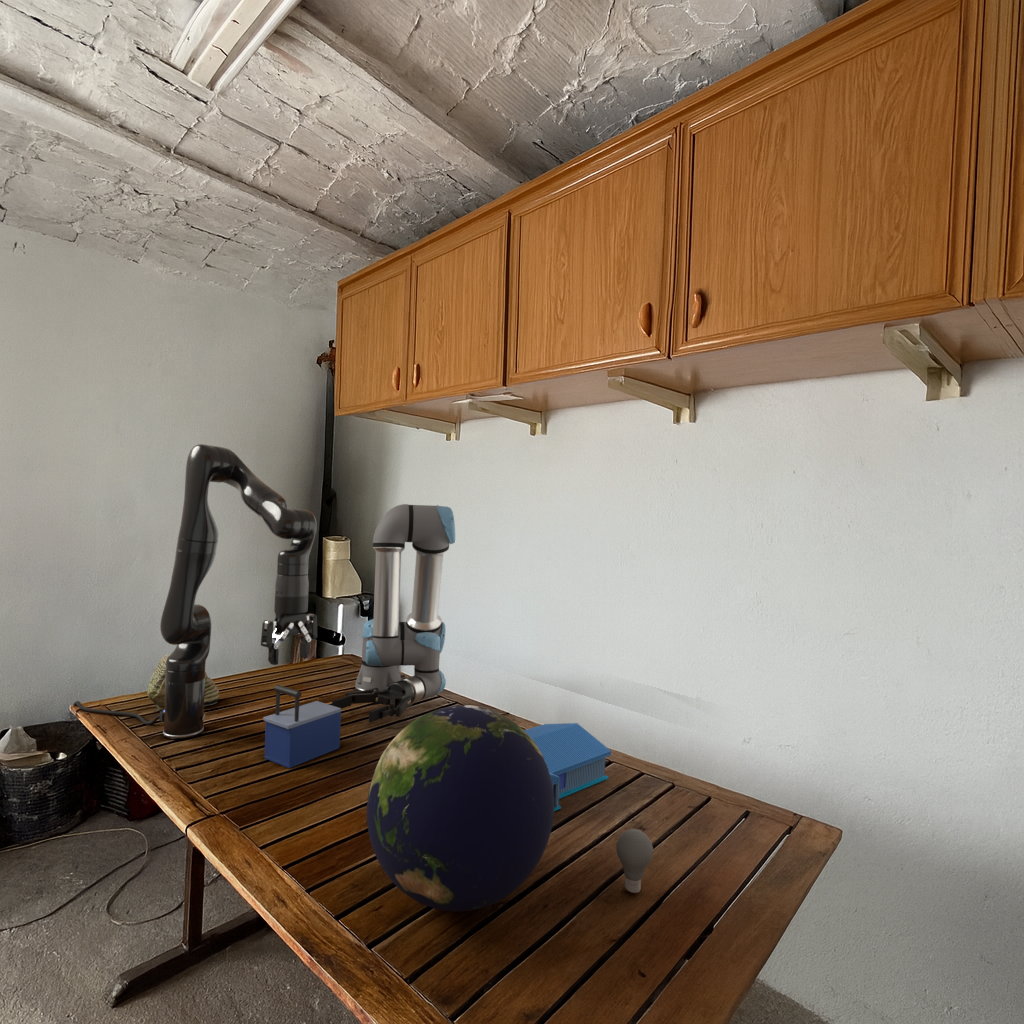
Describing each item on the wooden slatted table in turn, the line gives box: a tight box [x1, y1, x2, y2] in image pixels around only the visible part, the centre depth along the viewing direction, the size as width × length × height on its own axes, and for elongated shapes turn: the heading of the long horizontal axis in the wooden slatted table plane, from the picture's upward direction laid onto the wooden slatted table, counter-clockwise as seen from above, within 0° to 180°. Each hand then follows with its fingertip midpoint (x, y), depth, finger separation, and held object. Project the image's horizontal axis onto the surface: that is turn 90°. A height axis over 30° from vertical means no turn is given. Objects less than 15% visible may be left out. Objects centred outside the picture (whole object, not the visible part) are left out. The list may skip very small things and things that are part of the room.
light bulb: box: [615, 828, 654, 894], centre depth 106 cm, size 6×6×10 cm
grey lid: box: [262, 684, 342, 729], centre depth 155 cm, size 16×9×8 cm, turn 147°
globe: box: [366, 704, 555, 913], centre depth 102 cm, size 30×30×30 cm
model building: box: [523, 722, 612, 812], centre depth 142 cm, size 39×24×10 cm, turn 132°
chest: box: [264, 711, 342, 769], centre depth 156 cm, size 15×9×9 cm, turn 148°
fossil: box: [147, 654, 221, 712], centre depth 185 cm, size 9×18×15 cm, turn 132°
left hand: (289, 660), depth 151 cm, fingers open, 8 cm apart
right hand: (350, 711), depth 167 cm, fingers open, 13 cm apart
